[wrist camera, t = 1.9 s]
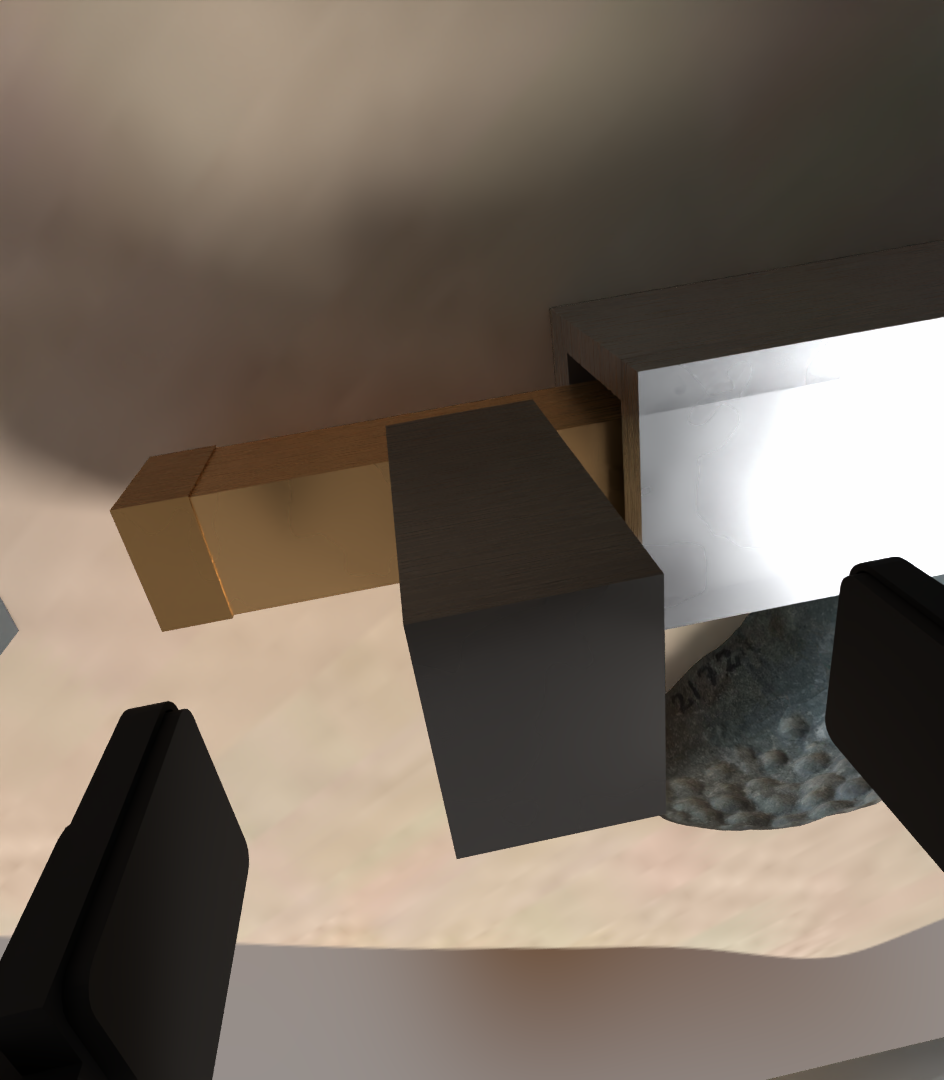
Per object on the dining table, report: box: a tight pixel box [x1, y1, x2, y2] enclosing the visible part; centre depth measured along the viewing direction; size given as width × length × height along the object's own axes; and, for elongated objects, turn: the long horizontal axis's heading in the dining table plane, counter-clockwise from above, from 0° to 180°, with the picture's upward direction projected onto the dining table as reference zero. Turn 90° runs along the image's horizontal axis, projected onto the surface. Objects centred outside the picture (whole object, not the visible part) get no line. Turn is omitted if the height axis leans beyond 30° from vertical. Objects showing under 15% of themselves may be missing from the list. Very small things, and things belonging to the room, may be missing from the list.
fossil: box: [659, 574, 944, 831], centre depth 24 cm, size 10×13×4 cm
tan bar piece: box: [110, 380, 666, 859], centre depth 13 cm, size 4×22×9 cm, turn 98°
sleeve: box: [549, 240, 944, 630], centre depth 17 cm, size 6×12×6 cm, turn 98°
